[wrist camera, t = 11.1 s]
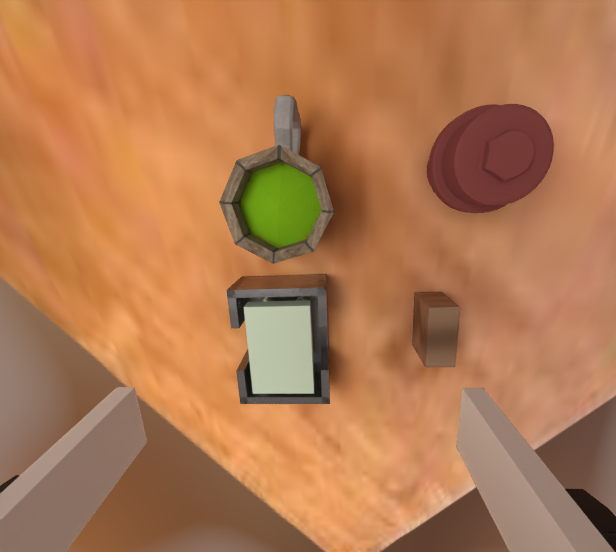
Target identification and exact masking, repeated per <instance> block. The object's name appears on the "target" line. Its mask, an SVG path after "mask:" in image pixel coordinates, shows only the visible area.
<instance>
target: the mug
mask: <svg viewBox="0 0 616 552" xmlns="http://www.w3.org/2000/svg"><path fill="white" fill-rule="evenodd" d="M274 132H275V147H272V148H269V149H267V150H264V151H261V152H258V153H256V154H253V155H250V156H247V157H245V158H242V159H239V160H237V161H236V163H235V166H234V168H233V171H232V173H231V175H230V178H229V180H228V183H227V185H226V187H225V190H224V192H223V195H222V197H221V200H220V202H219V203H220V205H221V208H222V211H223V213H224V216H225V219H226V221H227V224H228V226H229V229H230V232H231V234H232V237H233V240H234V242H235V244H236V245H238V246H240V247H242V248H244V249H246V250H248V251H250V252H252V253H253V254H255V255H257V256H259V257H261V258H263V259H265V260H267V261H269V262H271V263H273V264H274V263H277V262H280V261H284V260H287V259H290V258H293V257H297V256H300V255H303V254H306V253H310V252H313V251H314V249H315V247H316V246H317V244H318V242H319V240H320V238H321V236H322V234H323V232H324V230H325V228H326V227H327V225H328V223H329V221H330V219H331V217H332V215H333V213H334V210H333V207H332V203H331V200H330V197H329V193H328V190H327V186H326V183H325V180H324V176H323V173H322V169H321V167H320V166H318V165H316V164H314V163H312V162H310V161H309V160H307V159H305V158H303V157H301V156H299V150H300V140H301V119H300V115H299V112H298V108H297V102H296V100H295V98H294V97H292V96H289V95H284V96H278V97H277V98H276V99H275V107H274Z"/></svg>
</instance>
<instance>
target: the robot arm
mask: <svg viewBox="0 0 616 552" xmlns="http://www.w3.org/2000/svg"><path fill="white" fill-rule="evenodd" d="M146 442H147V439H146V435H145V431H144V426H143V422H142V418H141V413H140V409H139V405H138V401H137V396H136V392H135V387H117V388H116V389H115V390H114V391H113V392H111V393H110V394H109V395H108V396H107V397H106V398H105V399H104V400H103V401H101V402H100V403H99V404H98V405H97V406H96V407H95V408H94V409H93V410H92V411H90V412H89V413H88V414H87V415H86V416H85V417H84V418H83V419H82V420H81V421H79V422H78V423H77V424H76V425H75V426H74V427H73V428H72V429H71V430H70V431H69V432H67V433H66V434H65V435H64V436H63V437H62V438H61V439H60V440H59V441H57V442H56V443H55V444H54V445H53V446H52V447H51V448H50V449H49V450H48V451H47V452H45V453H44V454H43V455H42V456H41V457H40V458H39V459H38V460H37V461H35V462H34V463H33V464H32V465H31V466H30V467H29V468H28V469H27V470H26V471H24V472H23V473H22V474H21V475H16V476H14V477H13V478H11V479H10V480H8V481H7V482H5V483H4V484H2V485H1V486H0V552H66V551H67V550H68V549H69V547H70V546H71V544H72V543H73V542H74V540H75V539H76V537H77V536H78V535H79V533H80V532H81V531H82V529H83V528H84V527H85V525H86V524H87V523H88V521H89V520H90V519H91V517H92V516H93V514H94V513H95V512H96V510H97V509H98V508H99V506H100V505H101V504H102V502H103V501H104V500H105V498H106V497H107V495H108V494H109V493H110V491H111V490H112V489H113V487H114V486H115V485H116V483H117V482H118V481H119V479H120V478H121V476H122V475H123V474H124V472H125V471H126V469H127V468H128V467H129V466H130V464H131V463H132V461H133V460H134V459H135V457H136V456H137V454H138V453H139V452H140V451H141V449H142V448H143V446H144V445H145V444H146ZM456 447H457V449H458V451H459V453H460V455H461V457H462V459H463V461H464V463H465V465H466V467H467V469H468V471H469V473H470V475H471V477H472V479H473V481H474V483H475V485H476V487H477V488H478V490H479V492H480V494H481V496H482V498H483V500H484V502H485V504H486V506H487V508H488V510H489V512H490V514H491V516H492V518H493V520H494V522H495V524H496V526H497V528H498V530H499V532H500V534H501V535H502V537H503V540H504V542H505V543H506V545H507V548H508V550H509V551H510V552H616V516H615V515H614V514H613V513H612V512H611V511H610V510H609V509H608V508H607V507H606V506H604V505H603V504H602V503H600V502H599V501H598V500H597V499H595V498H594V497H593V496H591V495H590V494H589V493H587V492H586V491H585V490H583V489H564V488H563V486H562V485H561V484H560V483H559V481H558V480H557V479H556V478H555V476H554V475H553V474H552V473H551V472H550V470H549V469H548V468H547V467H546V465H545V464H544V463H543V462H542V460H541V459H540V458H539V457H538V455H537V454H536V453H535V452H534V450H533V449H532V448H531V447H530V445H529V444H528V443H527V442H526V440H525V439H524V438H523V437H522V435H521V434H520V433H519V432H518V430H517V429H516V428H515V427H514V425H513V424H512V423H511V422H510V420H509V419H508V418H507V417H506V415H505V414H504V413H503V412H502V410H501V409H500V408H499V407H498V405H497V404H496V403H495V402H494V401H493V399H492V398H491V397H490V396H489V394H488V393H487V392H486V391H485V389H484V388H462V397H461V407H460V416H459V426H458V435H457V445H456Z"/></svg>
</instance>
